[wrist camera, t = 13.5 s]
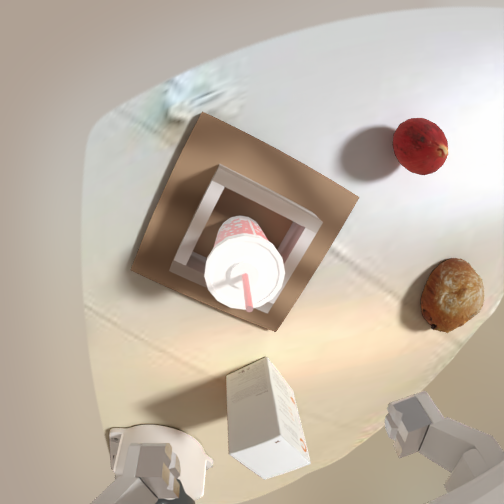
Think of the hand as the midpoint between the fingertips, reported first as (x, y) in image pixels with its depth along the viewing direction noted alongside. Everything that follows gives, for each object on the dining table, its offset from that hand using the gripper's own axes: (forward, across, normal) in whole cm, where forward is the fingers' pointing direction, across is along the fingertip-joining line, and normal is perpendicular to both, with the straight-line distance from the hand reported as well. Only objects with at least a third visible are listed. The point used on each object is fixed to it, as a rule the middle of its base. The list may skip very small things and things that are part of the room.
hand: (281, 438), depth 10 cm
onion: (+25, -19, -7) cm, 32 cm away
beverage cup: (+24, 0, 0) cm, 24 cm away
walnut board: (+25, 0, 0) cm, 25 cm away
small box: (+25, +1, +22) cm, 33 cm away
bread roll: (+26, -26, +13) cm, 39 cm away
